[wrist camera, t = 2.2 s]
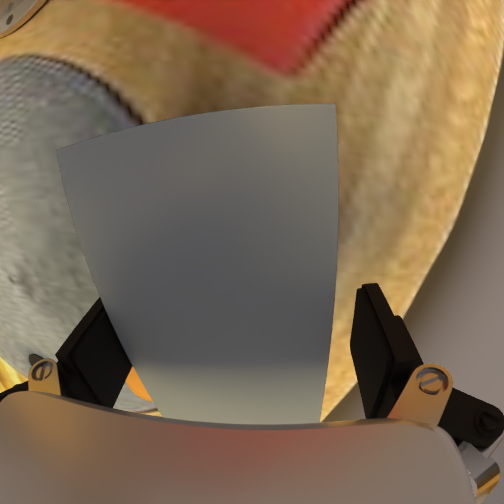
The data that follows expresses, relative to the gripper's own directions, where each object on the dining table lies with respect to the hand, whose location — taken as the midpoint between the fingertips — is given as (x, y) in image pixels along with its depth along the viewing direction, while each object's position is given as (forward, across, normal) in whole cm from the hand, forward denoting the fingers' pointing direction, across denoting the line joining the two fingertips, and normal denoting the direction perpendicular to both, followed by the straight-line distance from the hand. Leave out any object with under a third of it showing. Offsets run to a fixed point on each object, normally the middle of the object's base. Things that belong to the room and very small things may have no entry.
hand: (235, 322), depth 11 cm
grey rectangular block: (+7, +1, -1) cm, 7 cm away
